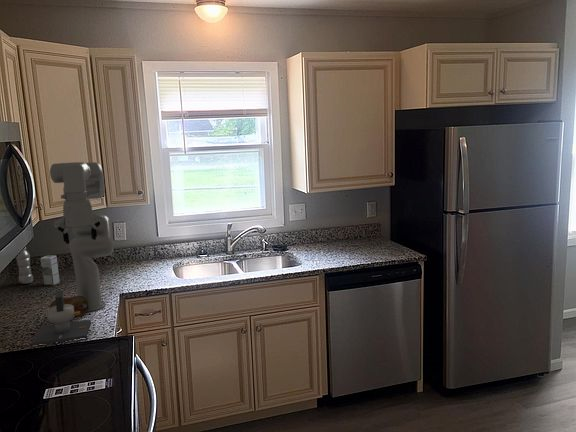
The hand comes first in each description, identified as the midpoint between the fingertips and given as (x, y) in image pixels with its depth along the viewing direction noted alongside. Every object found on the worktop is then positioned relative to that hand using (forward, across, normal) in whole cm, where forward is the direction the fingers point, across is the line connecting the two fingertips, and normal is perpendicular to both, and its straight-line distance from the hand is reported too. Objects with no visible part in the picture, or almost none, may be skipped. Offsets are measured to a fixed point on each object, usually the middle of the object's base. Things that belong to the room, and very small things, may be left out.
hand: (80, 241), depth 188 cm
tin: (+35, -3, +17) cm, 39 cm away
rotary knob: (+28, -9, -2) cm, 29 cm away
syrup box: (+35, +1, +76) cm, 84 cm away
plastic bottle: (+35, -9, +86) cm, 93 cm away
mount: (+34, -10, -2) cm, 36 cm away
